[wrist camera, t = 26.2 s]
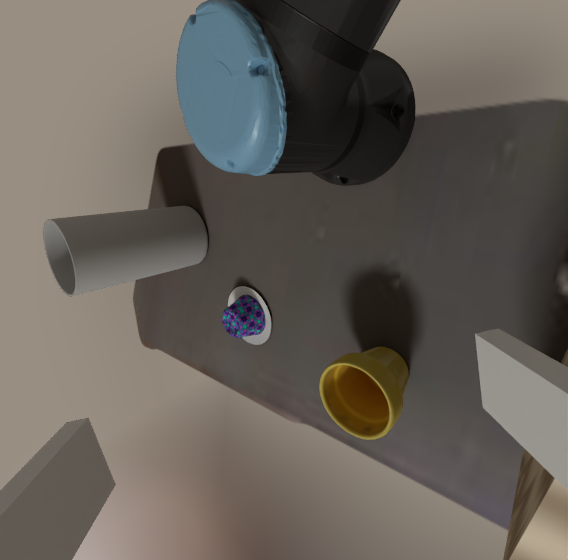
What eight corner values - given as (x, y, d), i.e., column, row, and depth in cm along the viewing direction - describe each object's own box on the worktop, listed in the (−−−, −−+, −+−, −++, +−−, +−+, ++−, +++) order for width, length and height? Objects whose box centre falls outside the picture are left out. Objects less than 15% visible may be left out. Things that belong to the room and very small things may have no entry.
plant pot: (345, 336, 52) (308, 364, 44) (408, 329, 44) (376, 360, 37) (366, 399, 52) (332, 435, 45) (432, 401, 45) (405, 445, 38)
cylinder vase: (216, 258, 67) (84, 292, 49) (185, 267, 76) (61, 299, 58) (198, 197, 66) (56, 209, 48) (168, 214, 75) (37, 230, 56)
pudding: (282, 313, 60) (262, 323, 56) (261, 354, 66) (242, 366, 63) (240, 272, 64) (219, 279, 60) (225, 315, 71) (205, 323, 67)
